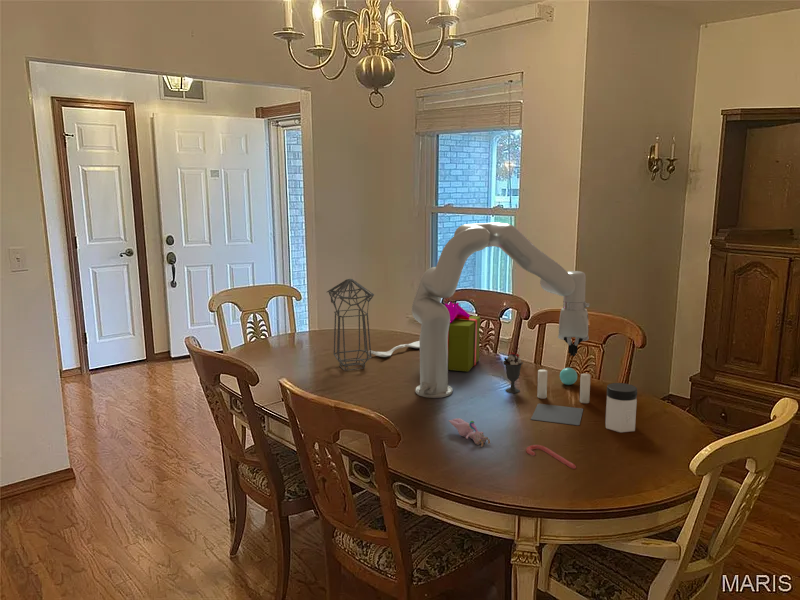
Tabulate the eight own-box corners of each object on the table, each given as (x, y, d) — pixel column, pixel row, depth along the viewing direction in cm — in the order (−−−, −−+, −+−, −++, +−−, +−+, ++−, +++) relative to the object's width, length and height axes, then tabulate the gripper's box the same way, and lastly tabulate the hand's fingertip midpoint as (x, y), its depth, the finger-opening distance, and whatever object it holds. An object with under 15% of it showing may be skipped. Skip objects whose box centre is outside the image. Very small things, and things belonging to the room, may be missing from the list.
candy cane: (557, 475, 147) (558, 470, 147) (521, 451, 161) (521, 446, 160) (577, 470, 150) (577, 465, 149) (539, 447, 163) (539, 442, 163)
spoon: (367, 357, 250) (367, 349, 249) (421, 343, 271) (421, 336, 271) (382, 362, 243) (381, 354, 243) (436, 347, 265) (436, 339, 264)
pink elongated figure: (493, 447, 165) (458, 422, 177) (496, 428, 163) (460, 404, 175) (476, 453, 162) (441, 427, 173) (479, 434, 160) (443, 409, 171)
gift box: (480, 358, 246) (480, 298, 241) (477, 374, 225) (478, 308, 221) (430, 356, 249) (429, 297, 245) (423, 371, 229) (422, 307, 224)
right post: (588, 403, 193) (590, 376, 191) (579, 402, 194) (580, 375, 192) (589, 400, 196) (590, 374, 194) (579, 399, 197) (581, 373, 195)
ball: (576, 387, 208) (576, 371, 207) (558, 386, 210) (558, 369, 209) (577, 382, 214) (578, 366, 213) (560, 380, 216) (560, 364, 215)
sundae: (524, 389, 208) (525, 346, 205) (519, 395, 202) (520, 351, 199) (505, 386, 211) (506, 345, 208) (500, 392, 205) (501, 349, 202)
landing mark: (579, 425, 176) (579, 425, 176) (530, 419, 181) (530, 419, 181) (583, 409, 188) (583, 408, 188) (537, 404, 193) (537, 403, 193)
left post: (545, 399, 198) (546, 372, 196) (536, 398, 199) (537, 371, 197) (547, 396, 201) (547, 370, 199) (538, 395, 202) (538, 369, 200)
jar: (613, 434, 170) (616, 393, 167) (598, 423, 177) (600, 384, 175) (642, 430, 171) (644, 390, 169) (625, 420, 179) (627, 381, 177)
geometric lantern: (366, 360, 245) (364, 274, 239) (377, 371, 231) (375, 280, 224) (328, 364, 240) (324, 277, 234) (336, 375, 226) (333, 283, 219)
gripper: (596, 304, 217) (595, 353, 220) (553, 302, 222) (553, 351, 225) (595, 308, 210) (593, 359, 213) (551, 306, 215) (550, 356, 219)
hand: (572, 355), depth 219 cm, fingers closed
